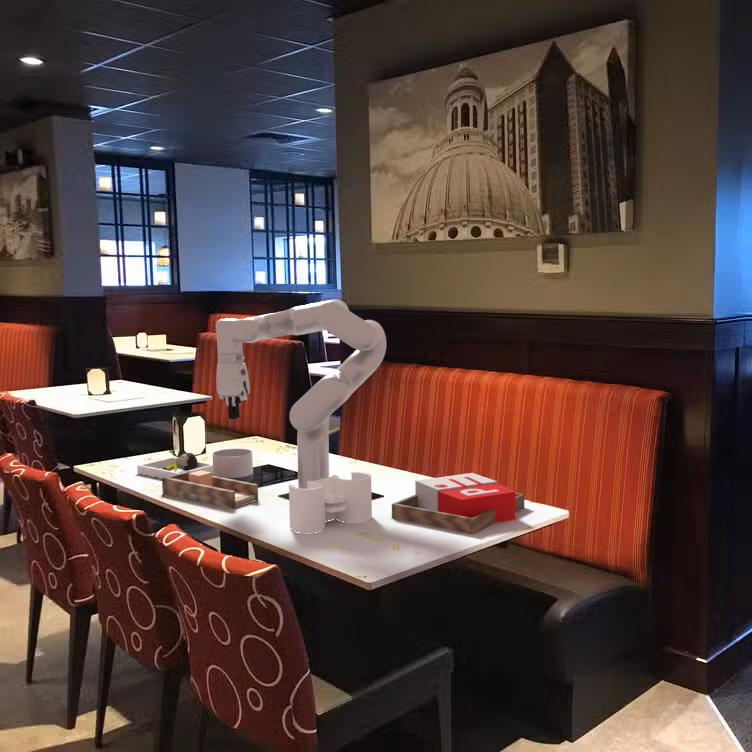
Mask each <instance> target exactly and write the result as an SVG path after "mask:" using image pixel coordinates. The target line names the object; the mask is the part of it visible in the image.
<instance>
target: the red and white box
mask: <svg viewBox="0 0 752 752" xmlns="http://www.w3.org/2000/svg"><path fill="white" fill-rule="evenodd" d="M414 485H415V487H414V488H415V490H414V491H415V492H414V493H415V494H416V495H417V508H422V509H427V510H433V511H438V512H443V513H449V514H454V515H459V516H464V517H470V518H472V517H474V516H477V515H479V514H481V513H483V512H485V511H487V510H490V509H495V523H494V524H497V523H503V522H509V521H515V520H516V512H515V494H516V493H517V492H516V491H515V490H512V489H510V488H509V487H507V486H504V485H502V484H500V483H499V482H498V481H497V480H494V479H491V478H488V477H485V476H482V475H480V474H477V473H474V472H470V473H468V472H467V473H462V474H454V475H447V476H441V477H439V476H438V477H433V478H426V479H418V480H415V483H414ZM415 494H414V495H415Z"/></svg>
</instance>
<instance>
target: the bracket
mask: <svg viewBox="0 0 752 752" xmlns="http://www.w3.org/2000/svg"><path fill="white" fill-rule="evenodd" d="M350 473H351V475H350V476H351V479H346V478H340V477H339V476H338V475H336V474H333V475H331V476H329V478H324V479H319V480H314V481H307V489H300V488H298V487H297V486H295V484H289V485H288V500H289V501H288V502H289V504H288V505H289V529H290V528H292V529H291V531H292V530H293V531H295V532H300V533H315V532H319V531H322V530H324V529H325V530H326V522H325V521H328V520H332V519H338V520H340V521H344V522H361V523H364V522H363V521H366V522H368V521H367V520H369V521H370V520H371V519H373V515H372V514H373V510H372V506H373V504H372V474H371V473H368V472H363V471H357V470H353V471H351V472H350ZM340 521H339V522H340ZM344 522H343V523H344ZM325 530H324V531H325ZM293 531H292V532H293ZM295 532H294V533H295ZM322 532H323V531H322ZM319 533H320V532H319ZM315 534H316V533H315Z"/></svg>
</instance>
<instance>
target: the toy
mask: <svg viewBox="0 0 752 752" xmlns="http://www.w3.org/2000/svg"><path fill="white" fill-rule="evenodd" d="M197 461H198V459H197V457H196V455H195V454H194V453H192V452H183V454H182V455H180V456H177V459H176V464H171V465H168V466H166V465H165V466H166V467H164V468H162V469H163V470H168V471H172V470H173V471H174V472H177V470H178V468H180V470H182V471H183V472H185V471H189V470H193V469H195V468H196V467H197Z"/></svg>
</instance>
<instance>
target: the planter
mask: <svg viewBox="0 0 752 752" xmlns="http://www.w3.org/2000/svg"><path fill="white" fill-rule="evenodd" d="M212 464H213V474H212V475H213V476H218V477H223V478H228V479H233V480H238V481H243V482H248V483H252V482H253V480H254V463H253V451H252V450H251V449H246V448H226V449H219V450H216V451H214V452H212Z"/></svg>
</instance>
